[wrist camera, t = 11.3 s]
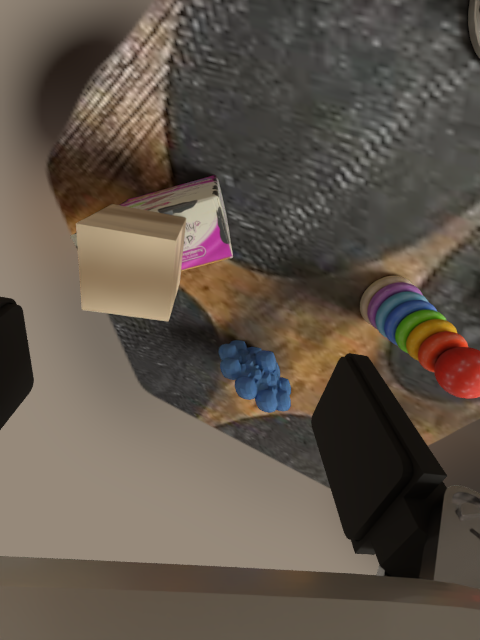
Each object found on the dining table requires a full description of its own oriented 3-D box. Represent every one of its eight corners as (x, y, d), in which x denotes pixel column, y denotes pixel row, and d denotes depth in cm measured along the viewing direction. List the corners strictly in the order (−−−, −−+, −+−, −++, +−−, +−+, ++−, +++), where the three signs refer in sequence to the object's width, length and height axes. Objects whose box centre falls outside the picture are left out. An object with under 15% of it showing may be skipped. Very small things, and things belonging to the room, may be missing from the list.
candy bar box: (143, 240, 38) (97, 296, 24) (126, 199, 35) (63, 234, 21) (229, 216, 37) (235, 260, 23) (217, 173, 35) (216, 191, 20)
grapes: (297, 344, 47) (319, 400, 37) (273, 374, 50) (287, 433, 40) (234, 312, 44) (238, 363, 33) (211, 345, 46) (209, 402, 36)
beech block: (112, 204, 20) (75, 223, 15) (186, 217, 21) (175, 240, 16) (113, 272, 23) (81, 309, 18) (179, 282, 24) (168, 321, 18)
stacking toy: (352, 322, 46) (424, 418, 30) (364, 273, 42) (456, 352, 26) (402, 322, 46) (500, 417, 30) (419, 273, 42) (543, 352, 26)
